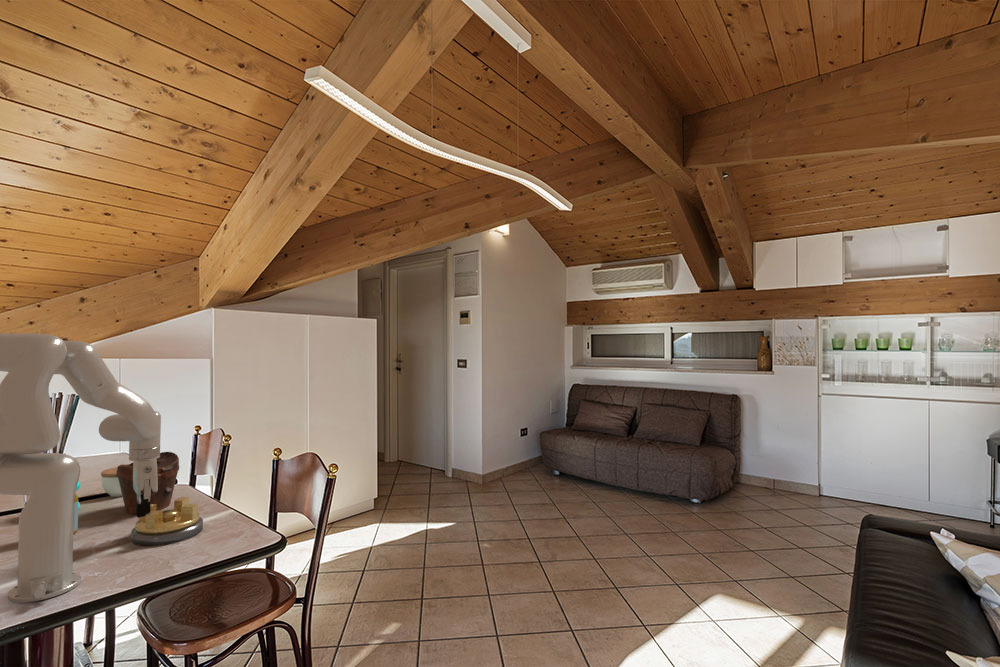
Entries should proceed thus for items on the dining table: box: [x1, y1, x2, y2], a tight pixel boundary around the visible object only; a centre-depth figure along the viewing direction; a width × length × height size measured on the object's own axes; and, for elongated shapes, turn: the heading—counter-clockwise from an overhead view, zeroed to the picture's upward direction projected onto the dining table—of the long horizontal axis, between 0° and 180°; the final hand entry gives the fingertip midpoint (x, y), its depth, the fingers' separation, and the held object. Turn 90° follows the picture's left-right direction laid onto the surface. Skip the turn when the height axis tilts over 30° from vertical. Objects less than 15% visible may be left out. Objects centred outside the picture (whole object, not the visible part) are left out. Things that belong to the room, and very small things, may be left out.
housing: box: [130, 516, 204, 547], centre depth 150 cm, size 18×18×6 cm
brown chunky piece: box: [116, 451, 180, 515], centre depth 173 cm, size 18×20×18 cm
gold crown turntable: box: [134, 496, 200, 535], centre depth 150 cm, size 16×16×6 cm
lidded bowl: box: [100, 463, 125, 498], centre depth 189 cm, size 13×13×11 cm
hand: (143, 515), depth 147 cm, fingers closed
